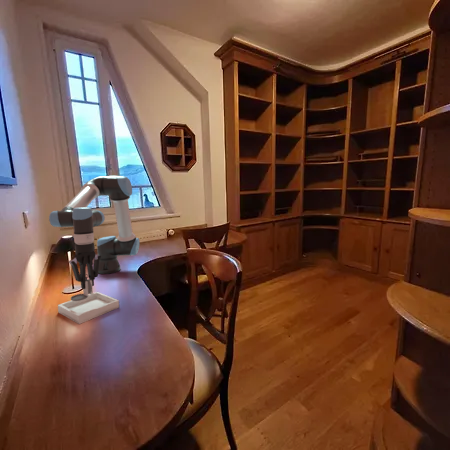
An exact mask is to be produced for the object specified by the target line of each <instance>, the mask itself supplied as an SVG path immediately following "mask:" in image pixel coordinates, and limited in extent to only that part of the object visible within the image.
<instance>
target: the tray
mask: <svg viewBox="0 0 450 450" xmlns="http://www.w3.org/2000/svg"><path fill="white" fill-rule="evenodd" d="M88 295H89V296H88V297H87V298H86V299H84V300H80V301H72V300H71V299H70V300H68V301H65V302H63V303H60V304H57V310H58V311H57V312H58V313H59V314H60V315H62V316H64V317H65V318H67V319H69V320H71V321H73V322H74V323H76V324H78V325H80V324H82V323H85V322H89V321H90V320H92V319H95V318H97V317H100V316H102V315H104V314H107V313H109V312H112V311H113V310H117V309H118V308H120V300H119V299H116V298H114V297H112V296H109V295H106V294H104V293H101V292H99V291H95V292H93V294H92V295H91V294H88Z"/></svg>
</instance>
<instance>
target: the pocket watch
mask: <svg viewBox="0 0 450 450" xmlns="http://www.w3.org/2000/svg"><path fill="white" fill-rule="evenodd" d="M87 279H89V277H88V273H86V281H88V295H89V294H90V293H91V292H92V289H93V286H92V285H91V283H90V281H89V280H87ZM87 297H88V296H86V295H84V293H78V294H75V295H73V296H71V297H70V301H71V300H72V301H80V300H84V299H86V298H87Z"/></svg>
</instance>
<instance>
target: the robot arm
mask: <svg viewBox="0 0 450 450" xmlns="http://www.w3.org/2000/svg"><path fill="white" fill-rule="evenodd" d="M132 195H133V186H132V182H131V179H129V177H127V176H122V175H109V176H108V175H107V176H106V175H100V176H96V177H94V178H92V179H90V180H88V181H87V182H85V183H84V184H83V185H82V187H81V190H80V191H79V192H78V193H77V194H76V195H74V197H72V199H70V201H69V202H68V203H67V204H66V205H65V206H63V208H62V209H60V210H53V211H51V212H50V213H49V216H48V221H49V224H50V225H51V226H52V227H54V228H55V227H56V228H57V227H58V228H71V227H72V228H73V239H74V243H75V244H74V252H75V255H74V258H73V259H71V260H69V261H68V263H69V265H70V266H71V268H72V272H73V275H74V279H75V281H76V282H79V283H80V288H81V289H82V291H83V294H84V295H86V296H89V294H88V281H86V277H88V278H87V280H89V281H90V283H91V285H92V287H94V286H95V283H94V281H95V280H96V278H98V277H99V274H100V275H107V274H109V275H110V274H113V273H118V272H119V271H121V265H120V264H121V263H120V261H119V260H118V256H136V255H137V254H138V252H139V248H140V238H139V237H137V236H136V234H135V233H134V232H133V225H132V220H131V211H130V206H129V200H130V198H131V196H132ZM102 196H105V197H106V196H108V197H109V200H110V201H111V202H113V208H114V215H115V220H116V226H117V231H118V235H117V237H116V235H109V236H103V237H100V238H98V239H97V241H96V246H95V242H94V241H95V237H94V234H95V233H94V227H99V226H100V225H102V224H103V223H104V222H105V218H106V217H105V214H104V213H103V212H102V211H101V210H99V209H98V210H97V209H93V210H92V208H91V207H88V206H89V205H90V204H91V202H93V200H96V199H97V198H98V197H102ZM96 249H97V250H96ZM95 250H96V251H97V254H96V252H95ZM78 265H79V267H78ZM86 269H87V273H86ZM86 274H87V275H88V276H87V275H86ZM93 291H94V290H93V288H92V292H91V293H90V294H91V295H92V294H93V293H94V292H93Z"/></svg>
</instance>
